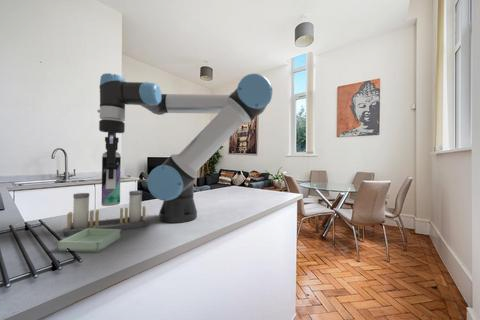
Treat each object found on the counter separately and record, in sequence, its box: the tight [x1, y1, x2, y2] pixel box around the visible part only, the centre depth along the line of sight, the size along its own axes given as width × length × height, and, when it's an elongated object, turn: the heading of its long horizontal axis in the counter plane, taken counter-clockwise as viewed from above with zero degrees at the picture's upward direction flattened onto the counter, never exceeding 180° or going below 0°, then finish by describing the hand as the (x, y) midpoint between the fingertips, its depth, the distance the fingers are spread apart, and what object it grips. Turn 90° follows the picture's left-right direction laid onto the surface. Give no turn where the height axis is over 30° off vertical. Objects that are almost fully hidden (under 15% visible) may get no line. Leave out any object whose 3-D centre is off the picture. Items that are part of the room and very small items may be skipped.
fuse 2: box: [128, 190, 143, 223], centre depth 76 cm, size 4×4×12 cm
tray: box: [57, 227, 122, 253], centre depth 58 cm, size 10×10×2 cm
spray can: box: [101, 151, 122, 207], centre depth 72 cm, size 6×6×20 cm
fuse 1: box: [72, 192, 90, 229], centre depth 68 cm, size 4×4×12 cm
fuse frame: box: [63, 206, 148, 238], centre depth 72 cm, size 23×9×6 cm, turn 120°
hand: (111, 187), depth 72 cm, fingers closed on spray can, 5 cm apart
